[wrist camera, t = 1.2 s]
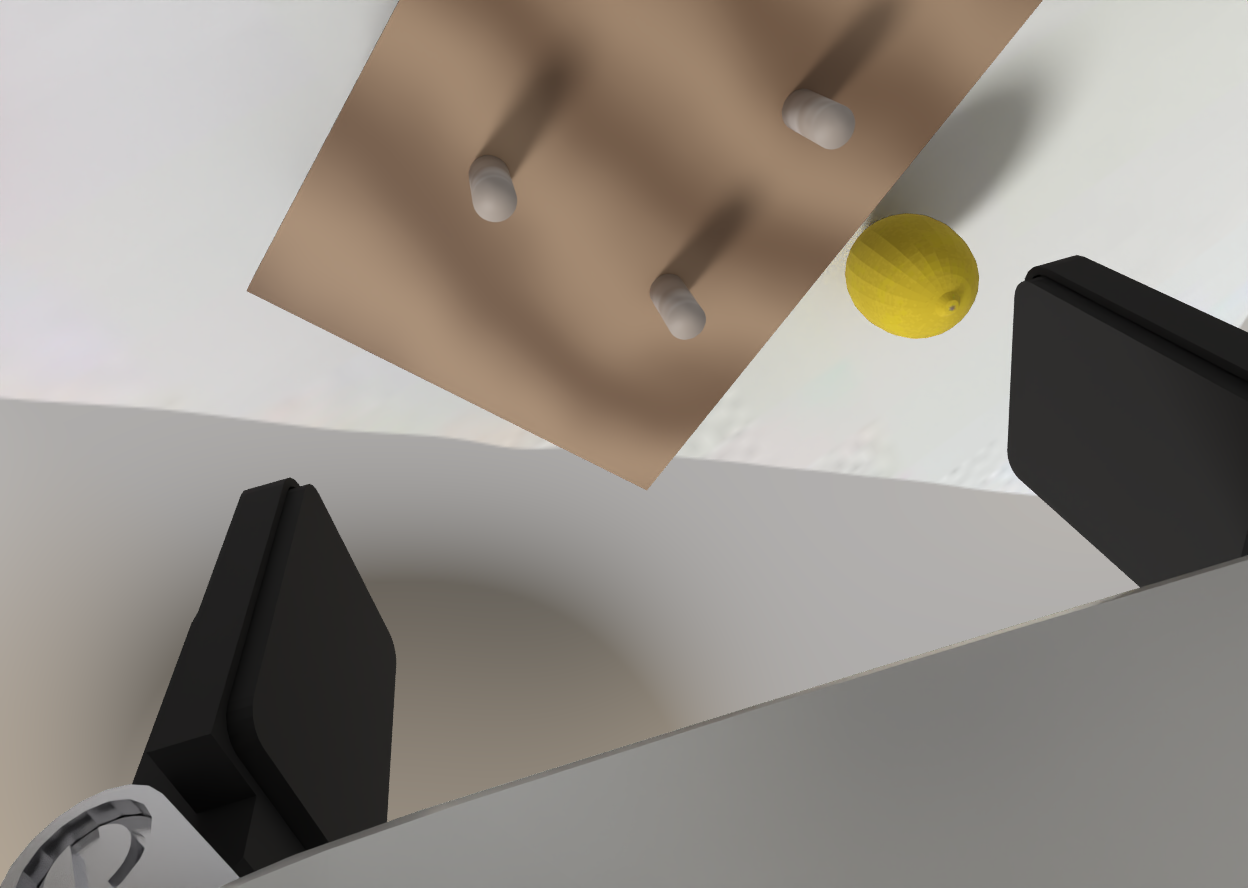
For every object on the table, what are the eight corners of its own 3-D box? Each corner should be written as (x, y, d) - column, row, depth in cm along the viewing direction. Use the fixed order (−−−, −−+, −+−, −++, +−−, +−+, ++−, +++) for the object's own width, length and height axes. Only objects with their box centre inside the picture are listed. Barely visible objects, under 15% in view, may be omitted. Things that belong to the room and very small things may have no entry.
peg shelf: (590, -369, 29) (677, -523, 19) (921, -21, 37) (1105, 1, 27) (283, 215, 37) (229, 325, 27) (610, 394, 45) (662, 531, 35)
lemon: (807, 291, 44) (875, 357, 37) (842, 186, 41) (923, 237, 34) (898, 304, 45) (979, 370, 39) (938, 203, 43) (1032, 256, 36)
